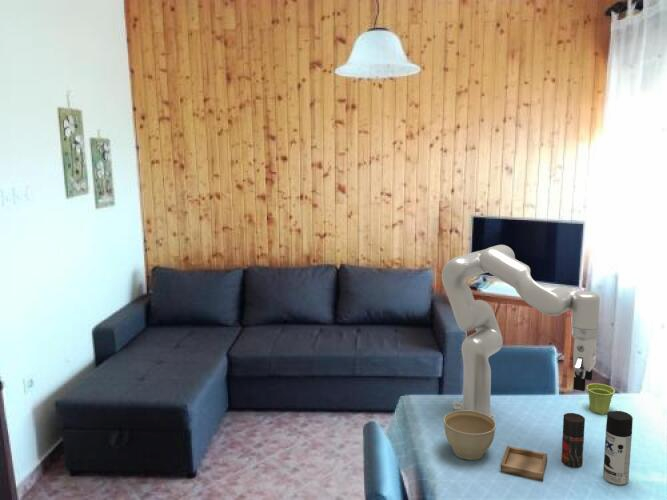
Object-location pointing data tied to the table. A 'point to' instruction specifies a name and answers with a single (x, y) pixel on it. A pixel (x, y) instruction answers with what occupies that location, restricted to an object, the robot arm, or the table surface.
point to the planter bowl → (469, 433)
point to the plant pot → (600, 397)
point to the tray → (524, 463)
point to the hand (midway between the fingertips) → (582, 384)
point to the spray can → (617, 447)
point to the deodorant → (573, 440)
